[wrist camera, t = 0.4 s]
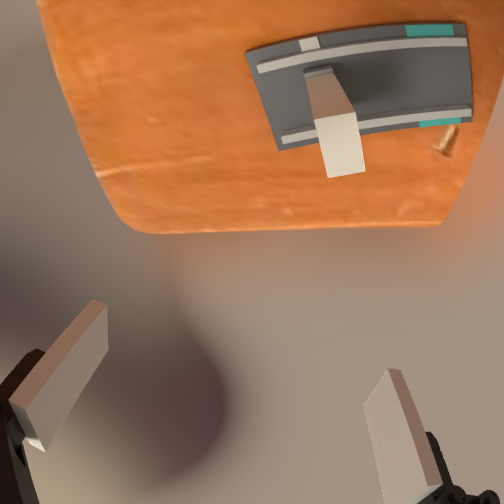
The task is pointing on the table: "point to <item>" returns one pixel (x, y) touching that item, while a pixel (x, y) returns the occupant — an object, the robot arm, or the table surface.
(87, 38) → the table surface
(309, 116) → the fader console
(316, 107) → the fader handle
